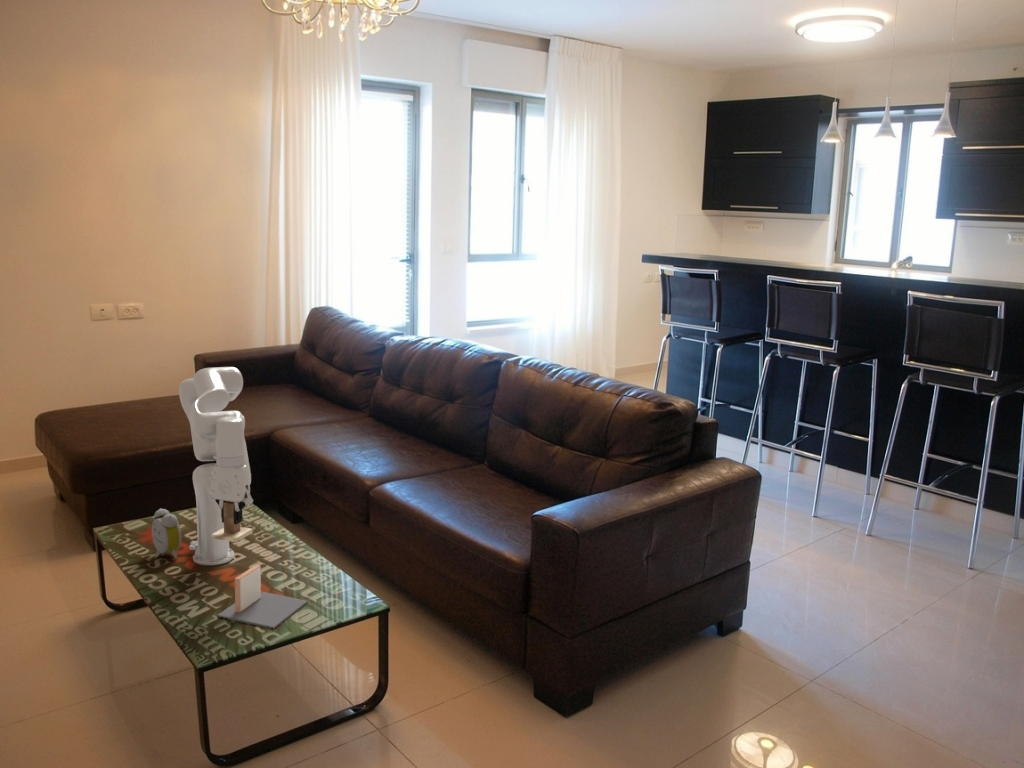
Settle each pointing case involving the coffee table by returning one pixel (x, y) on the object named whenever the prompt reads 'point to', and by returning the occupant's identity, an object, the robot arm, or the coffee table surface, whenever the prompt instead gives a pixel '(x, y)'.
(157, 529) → the alarm clock
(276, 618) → the mat
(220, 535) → the square post stand
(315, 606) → the coffee table surface
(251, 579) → the tile
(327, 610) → the coffee table surface
